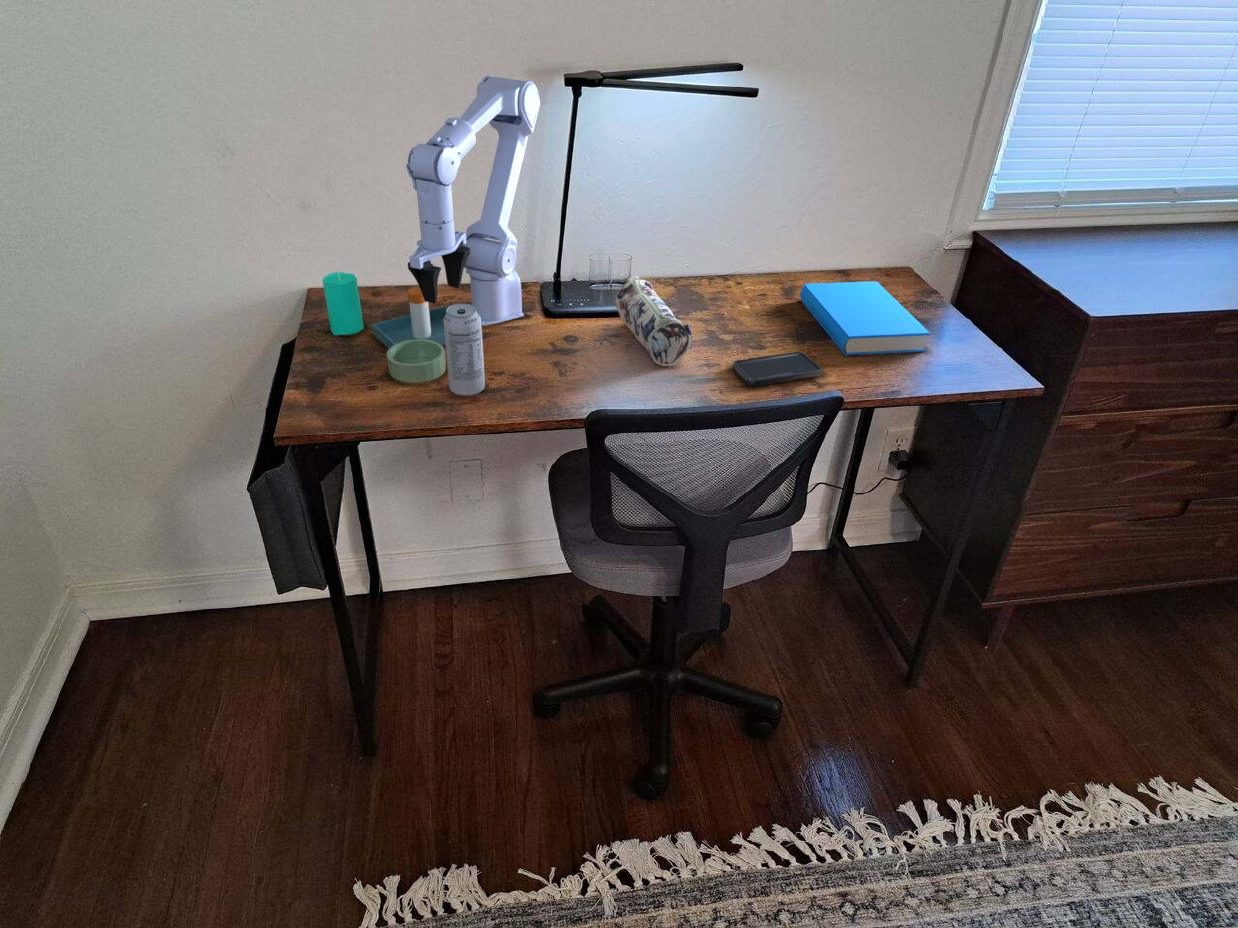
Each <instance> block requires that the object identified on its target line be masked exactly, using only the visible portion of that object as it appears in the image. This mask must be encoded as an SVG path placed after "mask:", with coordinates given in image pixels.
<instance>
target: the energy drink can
mask: <svg viewBox="0 0 1238 928" xmlns="http://www.w3.org/2000/svg"><path fill="white" fill-rule="evenodd" d="M443 323H444V334H445V344H444V345H445V357H446V368H447V378H448V387H449V390H450V391H451V393H453V394H455V395H457V396H460V397H473V396H477V395H479V394H480V393H481V392H482V391H484V390H485V387H486V376H485V362H484V346H483V345H484V343H483V330H482V329H483V328H482V325H481V317H480V316H479V314H478V313H477V309H476V307H475V306H473V305H472V304H469V303H455V304H452V305H449V307H448V308H447V309H446V315H445V317H444V319H443Z"/></svg>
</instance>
